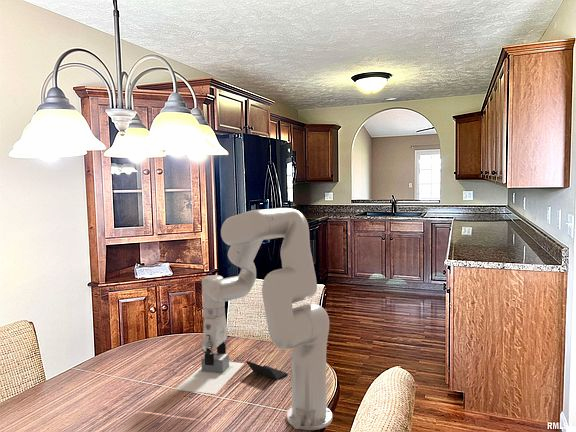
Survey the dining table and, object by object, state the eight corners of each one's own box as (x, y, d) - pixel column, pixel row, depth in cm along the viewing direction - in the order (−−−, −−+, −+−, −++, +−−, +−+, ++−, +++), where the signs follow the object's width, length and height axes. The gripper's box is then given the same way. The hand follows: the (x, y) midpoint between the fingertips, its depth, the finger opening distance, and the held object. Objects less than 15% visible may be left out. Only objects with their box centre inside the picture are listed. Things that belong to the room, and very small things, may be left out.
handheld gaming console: (290, 368, 148) (277, 351, 143) (283, 388, 143) (270, 371, 138) (263, 366, 154) (249, 350, 149) (255, 385, 150) (241, 369, 144)
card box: (201, 371, 150) (201, 358, 150) (208, 364, 155) (208, 352, 155) (222, 373, 148) (222, 360, 148) (229, 366, 153) (228, 354, 153)
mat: (215, 395, 133) (215, 393, 133) (175, 390, 137) (175, 388, 137) (244, 364, 156) (244, 363, 156) (208, 360, 160) (208, 359, 160)
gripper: (213, 319, 141) (214, 370, 142) (233, 305, 157) (235, 351, 159) (192, 318, 143) (194, 368, 144) (214, 304, 160) (216, 349, 161)
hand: (215, 359), depth 151 cm, fingers open, 9 cm apart
